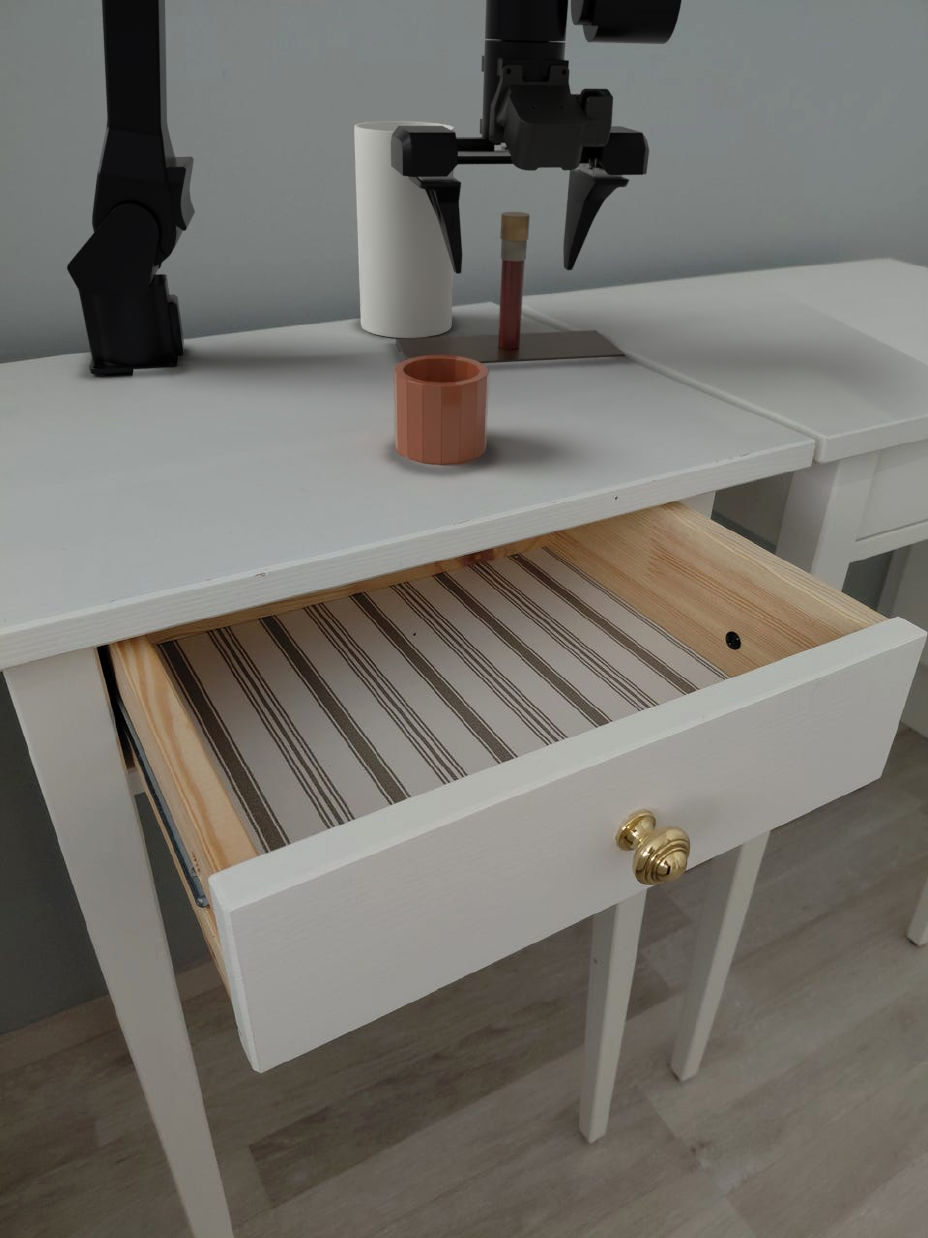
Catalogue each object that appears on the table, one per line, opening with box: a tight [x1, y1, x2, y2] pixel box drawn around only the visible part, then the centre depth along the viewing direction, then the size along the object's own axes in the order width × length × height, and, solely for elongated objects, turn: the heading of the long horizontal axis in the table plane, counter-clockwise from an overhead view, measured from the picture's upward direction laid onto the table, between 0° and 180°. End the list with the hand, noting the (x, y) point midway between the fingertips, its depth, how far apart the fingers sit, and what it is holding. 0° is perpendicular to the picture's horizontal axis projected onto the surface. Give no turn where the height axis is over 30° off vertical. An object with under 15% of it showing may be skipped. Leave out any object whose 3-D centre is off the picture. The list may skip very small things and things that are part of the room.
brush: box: [498, 211, 531, 350], centre depth 75 cm, size 2×2×10 cm
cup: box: [353, 120, 456, 339], centre depth 80 cm, size 8×8×16 cm
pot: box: [393, 355, 490, 466], centre depth 59 cm, size 6×6×6 cm
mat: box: [395, 329, 626, 364], centre depth 78 cm, size 18×7×1 cm, turn 103°
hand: (513, 270), depth 74 cm, fingers open, 9 cm apart
